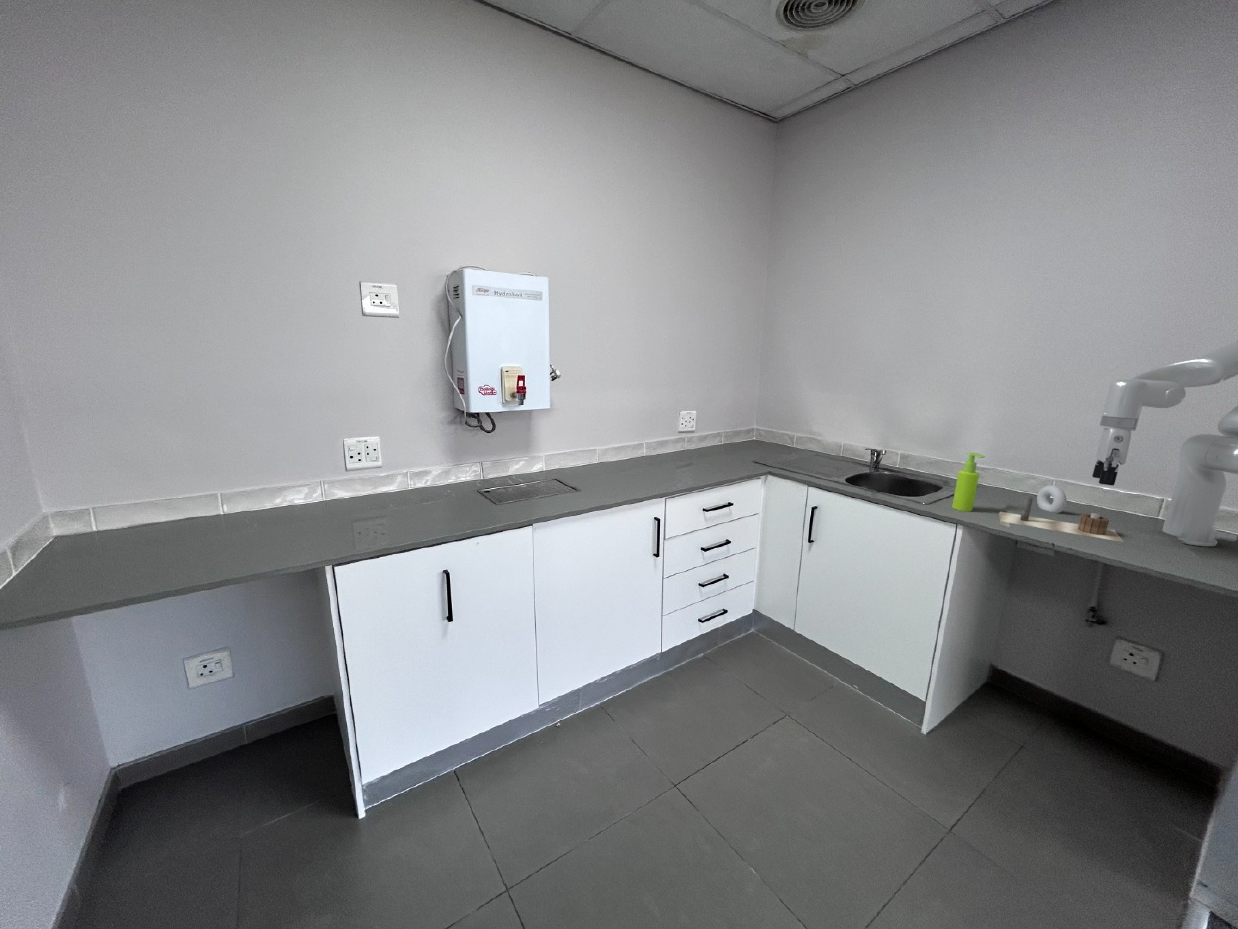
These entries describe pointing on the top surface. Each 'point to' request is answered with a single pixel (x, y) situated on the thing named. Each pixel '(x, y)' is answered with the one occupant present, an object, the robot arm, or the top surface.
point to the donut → (1058, 499)
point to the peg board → (1050, 522)
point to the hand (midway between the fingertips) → (1102, 481)
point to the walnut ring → (1093, 524)
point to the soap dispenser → (966, 485)
